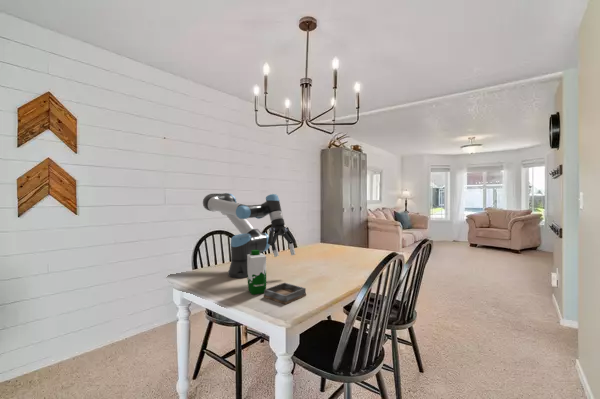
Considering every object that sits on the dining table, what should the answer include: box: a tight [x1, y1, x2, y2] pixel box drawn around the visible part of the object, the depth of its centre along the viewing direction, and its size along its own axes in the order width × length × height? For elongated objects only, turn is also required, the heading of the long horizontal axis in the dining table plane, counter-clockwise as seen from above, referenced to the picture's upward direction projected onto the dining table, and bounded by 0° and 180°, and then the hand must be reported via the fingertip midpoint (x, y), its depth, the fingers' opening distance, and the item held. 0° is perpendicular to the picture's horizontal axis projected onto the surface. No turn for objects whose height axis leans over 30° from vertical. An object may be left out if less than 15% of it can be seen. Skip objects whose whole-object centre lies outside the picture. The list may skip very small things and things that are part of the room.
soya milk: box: [247, 250, 267, 296], centre depth 144 cm, size 9×9×20 cm
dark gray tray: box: [263, 282, 307, 305], centre depth 138 cm, size 14×14×4 cm
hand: (285, 255), depth 165 cm, fingers open, 13 cm apart
